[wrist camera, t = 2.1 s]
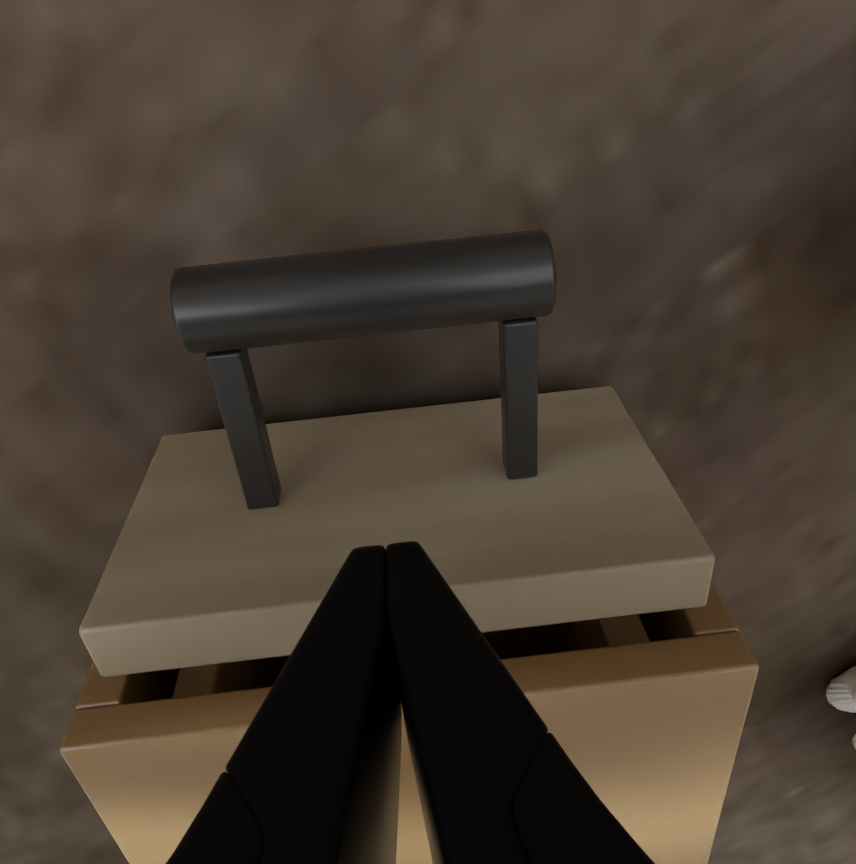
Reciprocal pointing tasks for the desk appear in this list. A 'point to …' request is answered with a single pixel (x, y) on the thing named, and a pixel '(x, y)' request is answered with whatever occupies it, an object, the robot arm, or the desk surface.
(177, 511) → the drawer
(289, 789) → the robot arm
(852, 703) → the white lumpy figure
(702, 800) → the cabinet
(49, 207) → the desk surface
